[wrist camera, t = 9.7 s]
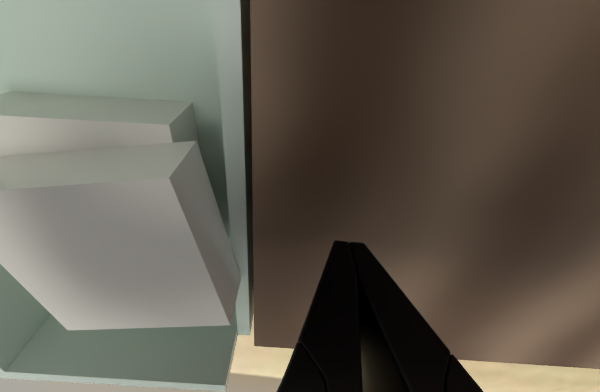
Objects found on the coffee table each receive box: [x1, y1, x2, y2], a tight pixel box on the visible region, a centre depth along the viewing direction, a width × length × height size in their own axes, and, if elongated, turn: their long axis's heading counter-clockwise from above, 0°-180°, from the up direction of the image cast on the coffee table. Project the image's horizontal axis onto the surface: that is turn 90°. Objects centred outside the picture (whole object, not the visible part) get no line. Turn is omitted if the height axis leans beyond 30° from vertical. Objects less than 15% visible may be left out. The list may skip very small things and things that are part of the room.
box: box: [0, 0, 254, 392], centre depth 10 cm, size 10×16×5 cm, turn 175°
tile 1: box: [0, 91, 201, 157], centre depth 11 cm, size 6×6×2 cm
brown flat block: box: [250, 0, 600, 369], centre depth 11 cm, size 18×16×3 cm
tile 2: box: [0, 141, 241, 330], centre depth 9 cm, size 6×6×2 cm
